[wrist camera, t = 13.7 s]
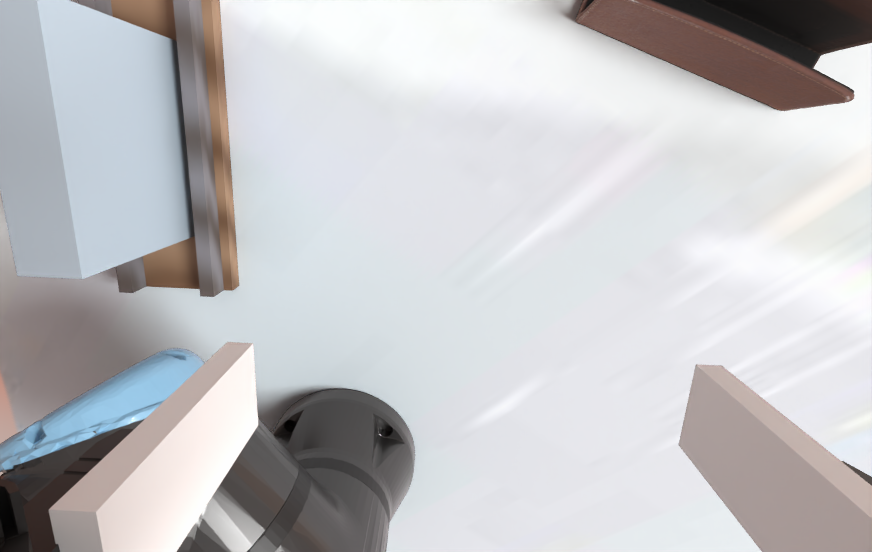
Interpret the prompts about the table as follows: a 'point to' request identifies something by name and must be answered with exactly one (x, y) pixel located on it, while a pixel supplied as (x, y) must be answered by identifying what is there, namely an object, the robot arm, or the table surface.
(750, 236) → the table surface
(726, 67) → the letter holder
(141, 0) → the floor track
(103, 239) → the sliding panel
